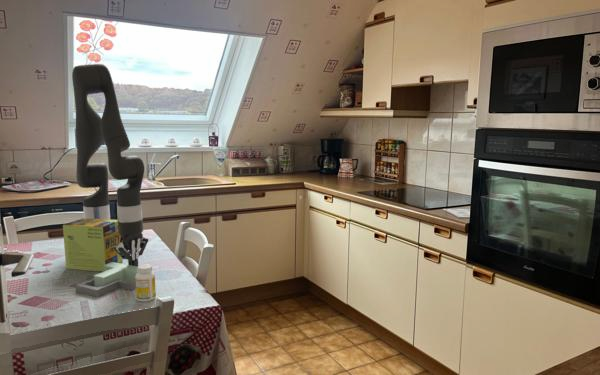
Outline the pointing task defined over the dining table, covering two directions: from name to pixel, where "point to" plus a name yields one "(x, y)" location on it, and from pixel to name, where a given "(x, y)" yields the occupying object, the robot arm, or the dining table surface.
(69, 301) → the dining table surface
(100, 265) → the protein box
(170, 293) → the dining table surface
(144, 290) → the supplement bottle
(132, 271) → the t block
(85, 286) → the t dock
